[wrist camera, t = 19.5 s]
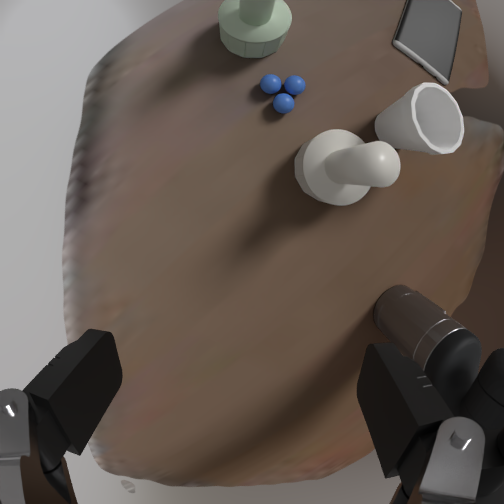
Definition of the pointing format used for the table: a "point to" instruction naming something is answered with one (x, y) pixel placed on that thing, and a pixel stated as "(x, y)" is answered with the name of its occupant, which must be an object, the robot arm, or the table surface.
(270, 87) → the marble
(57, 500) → the robot arm
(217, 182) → the table surface
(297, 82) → the marble
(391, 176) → the white joystick
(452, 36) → the smartphone
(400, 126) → the foam cup
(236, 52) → the pale green pedestal post
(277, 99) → the marble
